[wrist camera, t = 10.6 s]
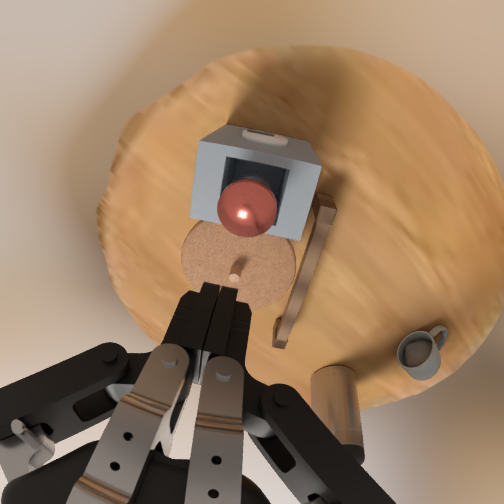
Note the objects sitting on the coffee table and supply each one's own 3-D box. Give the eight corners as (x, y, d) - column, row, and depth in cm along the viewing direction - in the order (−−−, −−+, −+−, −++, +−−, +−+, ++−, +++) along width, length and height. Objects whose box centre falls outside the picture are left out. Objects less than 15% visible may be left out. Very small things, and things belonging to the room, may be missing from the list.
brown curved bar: (284, 329, 48) (284, 349, 44) (273, 326, 48) (272, 347, 44) (331, 196, 36) (337, 209, 32) (316, 192, 36) (320, 205, 32)
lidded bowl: (182, 219, 39) (152, 262, 30) (256, 165, 35) (245, 196, 25) (238, 282, 44) (227, 336, 35) (311, 240, 39) (319, 292, 30)
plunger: (272, 213, 26) (269, 242, 22) (226, 203, 26) (213, 230, 22) (282, 169, 24) (282, 190, 20) (234, 159, 24) (221, 177, 19)
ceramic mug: (406, 361, 51) (415, 390, 44) (391, 343, 48) (401, 375, 42) (449, 334, 47) (462, 363, 40) (439, 313, 44) (454, 343, 38)
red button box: (295, 194, 36) (300, 241, 26) (217, 178, 36) (189, 217, 26) (310, 135, 32) (324, 156, 22) (227, 117, 32) (200, 131, 22)
